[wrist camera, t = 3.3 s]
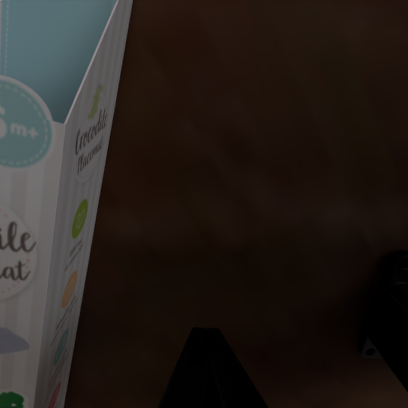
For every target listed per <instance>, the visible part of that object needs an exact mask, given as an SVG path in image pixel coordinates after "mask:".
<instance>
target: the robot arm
mask: <svg viewBox="0 0 408 408" xmlns="http://www.w3.org/2000/svg"><path fill="white" fill-rule="evenodd" d="M405 260H406V261H405ZM404 261H405V262H404ZM403 262H404V263H403ZM357 349H358V351H359V352H360V354H361V355H362V357H364V358H367V359H384V360H385V361H386V363H387V364H388V365H389V367H390V368H391V370H392V371H393V372H394V374H395V375H396V376H397V378H398V379H399V381H400V382H401V383H402V385H403V386H404V388H405V389H406V390H407V392H408V251H400V252H397V253H396V254H395V255H393V257H392V259H391V261H390V263H389V266H388V269H387V271H386V274H385V276H384V279H383V281H382V284H381V286H380V289H379V292H378V294H377V297H376V299H375V302H374V304H373V307H372V309H371V312H370V315H369V317H368V320H367V322H366V325H365V327H364V330H363V332H362V335H361V338H360V340H359V343H358V345H357ZM157 408H268V406H267V405H266V403H265V402H264V400H263V398H262V397H261V395H260V394H259V392H258V390H257V389H256V387H255V386H254V384H253V382H252V381H251V379H250V378H249V376H248V374H247V373H246V371H245V370H244V368H243V366H242V365H241V363H240V362H239V360H238V358H237V357H236V355H235V354H234V352H233V350H232V349H231V347H230V346H229V344H228V342H227V341H226V339H225V338H224V336H223V335H222V333H221V331H220V330H219V329H218V328H207V329H206V330H205V328H199V327H194V328H192V330H191V332H190V334H189V337H188V339H187V341H186V343H185V346H184V348H183V350H182V352H181V355H180V357H179V359H178V361H177V364H176V366H175V368H174V370H173V373H172V375H171V377H170V379H169V382H168V384H167V386H166V388H165V391H164V393H163V395H162V397H161V400H160V402H159V404H158V406H157Z"/></svg>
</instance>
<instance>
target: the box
mask: <svg viewBox="0 0 408 408" xmlns="http://www.w3.org/2000/svg"><path fill="white" fill-rule="evenodd" d="M132 3H133V0H0V408H64V402H65V397H66V391H67V385H68V379H69V373H70V367H71V361H72V355H73V350H74V344H75V338H76V332H77V326H78V320H79V314H80V308H81V302H82V297H83V291H84V285H85V279H86V273H87V267H88V261H89V255H90V249H91V244H92V238H93V232H94V226H95V220H96V214H97V208H98V202H99V197H100V191H101V185H102V179H103V173H104V167H105V161H106V155H107V149H108V144H109V138H110V132H111V126H112V120H113V114H114V108H115V103H116V97H117V91H118V85H119V79H120V73H121V67H122V61H123V55H124V50H125V44H126V38H127V32H128V26H129V20H130V14H131V8H132Z"/></svg>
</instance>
